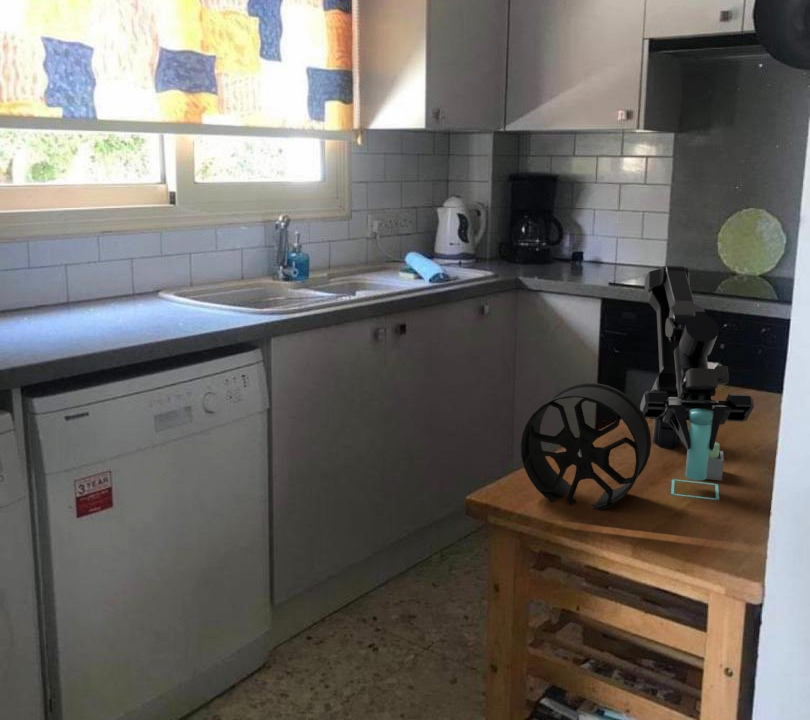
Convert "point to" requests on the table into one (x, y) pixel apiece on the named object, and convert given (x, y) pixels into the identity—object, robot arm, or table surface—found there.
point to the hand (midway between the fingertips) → (700, 448)
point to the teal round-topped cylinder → (699, 443)
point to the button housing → (715, 467)
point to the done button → (714, 451)
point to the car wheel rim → (584, 445)
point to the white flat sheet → (695, 496)
